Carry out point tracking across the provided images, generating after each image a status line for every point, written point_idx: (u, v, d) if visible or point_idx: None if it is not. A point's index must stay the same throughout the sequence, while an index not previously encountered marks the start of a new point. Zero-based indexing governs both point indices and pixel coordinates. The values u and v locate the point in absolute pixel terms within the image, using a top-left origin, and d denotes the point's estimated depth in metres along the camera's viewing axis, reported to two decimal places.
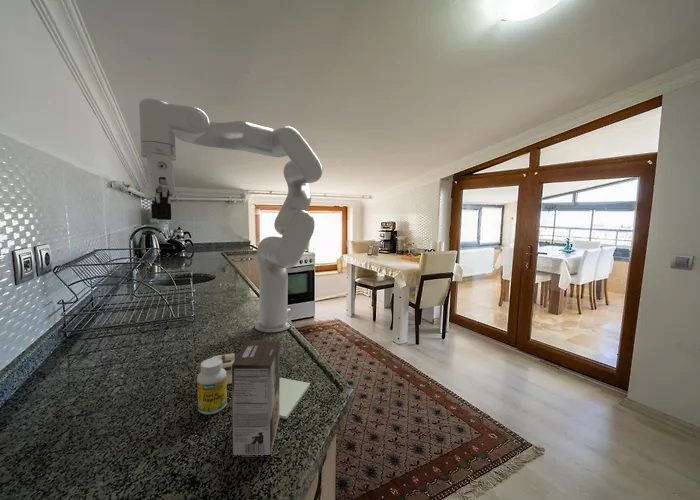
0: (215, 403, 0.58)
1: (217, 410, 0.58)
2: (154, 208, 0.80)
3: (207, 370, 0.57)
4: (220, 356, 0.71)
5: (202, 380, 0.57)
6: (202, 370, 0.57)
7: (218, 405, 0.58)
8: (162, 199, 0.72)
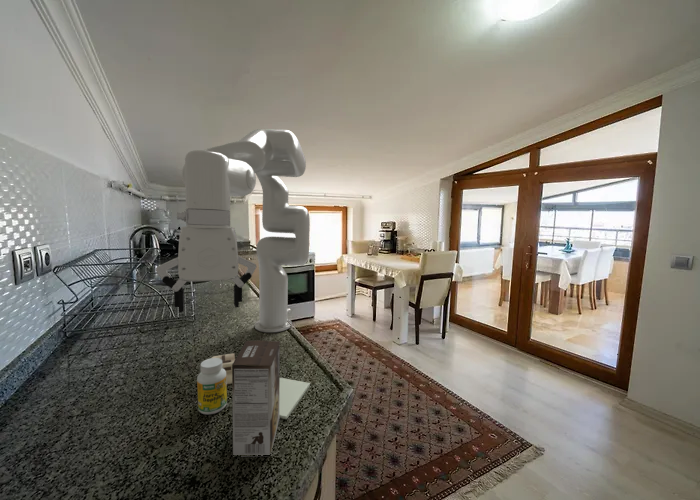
0: (215, 403, 0.58)
1: (217, 410, 0.58)
2: None
3: (207, 370, 0.57)
4: (220, 356, 0.71)
5: (202, 380, 0.57)
6: (202, 370, 0.57)
7: (218, 405, 0.58)
8: None
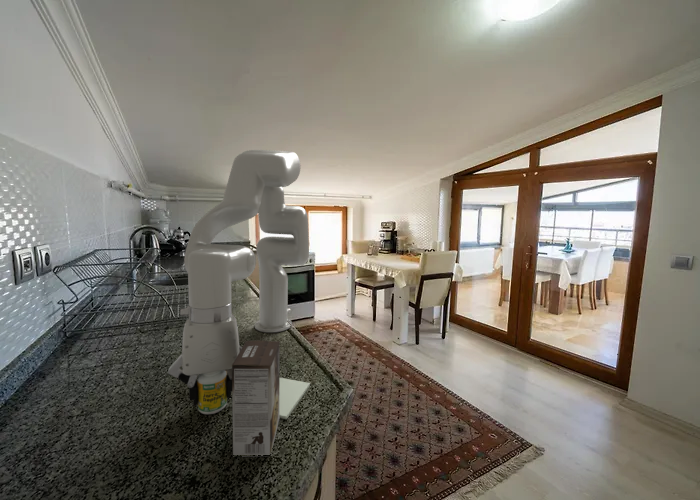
0: (215, 403, 0.58)
1: (217, 410, 0.58)
2: None
3: None
4: None
5: (202, 379, 0.57)
6: None
7: (218, 405, 0.58)
8: None
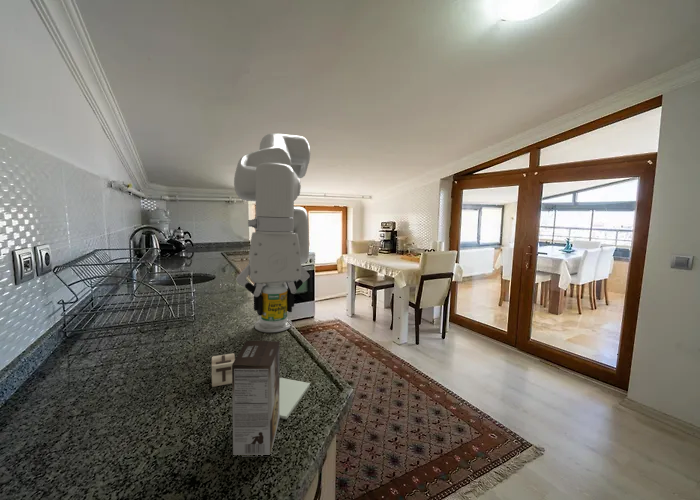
0: (279, 313, 0.60)
1: (280, 321, 0.61)
2: None
3: None
4: (220, 356, 0.71)
5: (267, 290, 0.59)
6: None
7: (281, 316, 0.61)
8: None
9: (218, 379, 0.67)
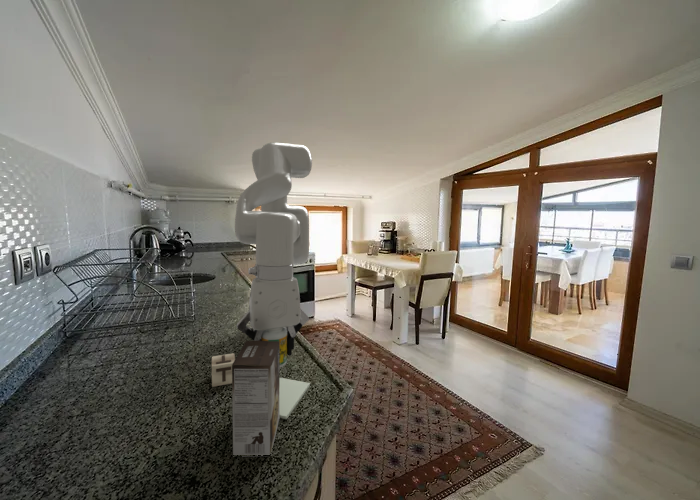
0: None
1: (280, 365, 0.61)
2: None
3: None
4: (220, 356, 0.71)
5: (267, 335, 0.60)
6: None
7: (281, 360, 0.61)
8: None
9: (218, 379, 0.67)
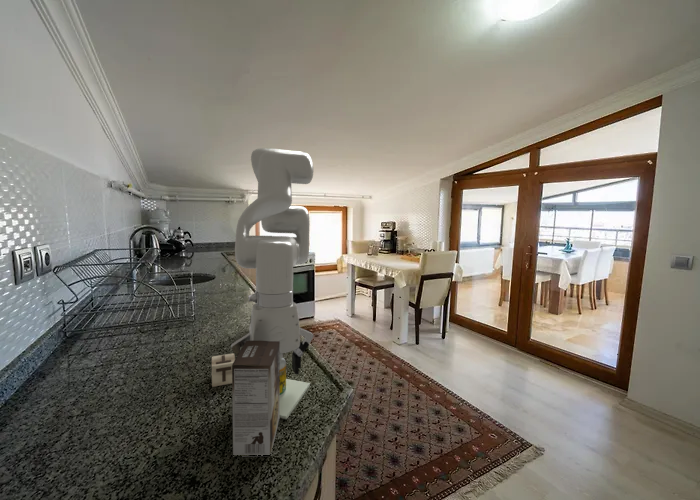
0: None
1: None
2: (292, 358, 0.66)
3: None
4: (220, 356, 0.71)
5: None
6: None
7: (280, 390, 0.63)
8: None
9: (218, 379, 0.67)
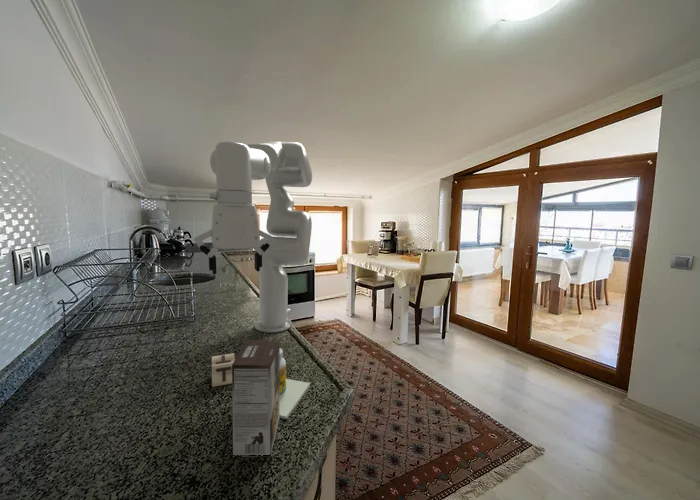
0: None
1: (279, 395, 0.63)
2: (254, 258, 0.73)
3: None
4: (220, 356, 0.71)
5: None
6: None
7: (280, 390, 0.63)
8: (204, 252, 0.67)
9: (218, 379, 0.67)
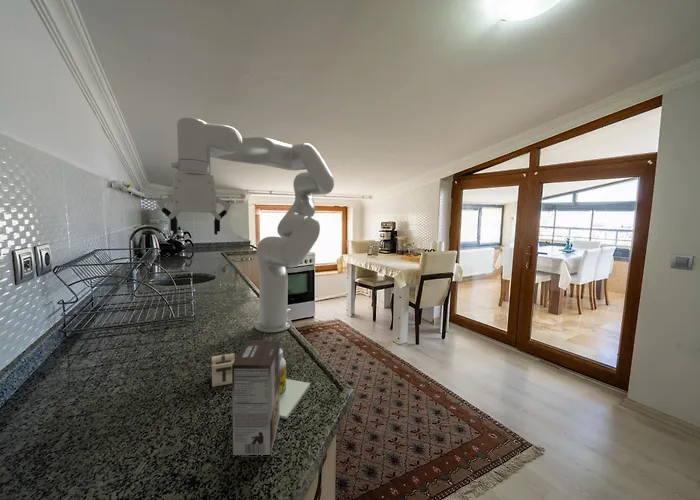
0: None
1: None
2: None
3: None
4: (220, 356, 0.71)
5: None
6: None
7: (280, 390, 0.63)
8: (166, 214, 0.76)
9: (218, 379, 0.67)
